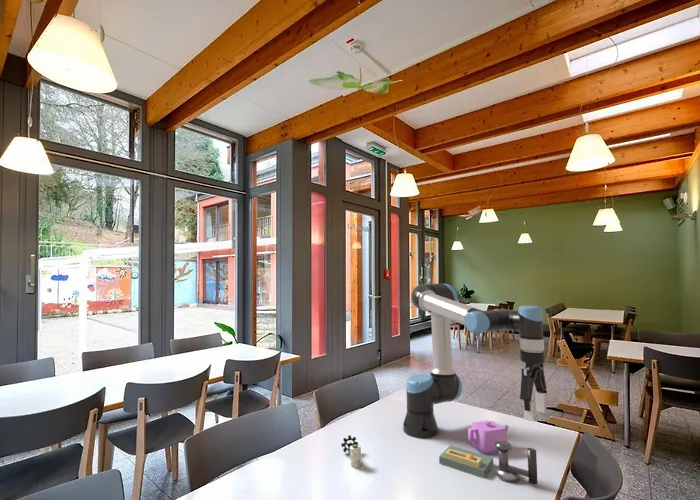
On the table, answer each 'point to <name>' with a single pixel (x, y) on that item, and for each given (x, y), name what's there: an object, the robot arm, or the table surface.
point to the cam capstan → (513, 472)
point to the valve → (353, 451)
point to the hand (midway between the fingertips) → (534, 415)
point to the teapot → (486, 436)
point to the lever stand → (466, 461)
